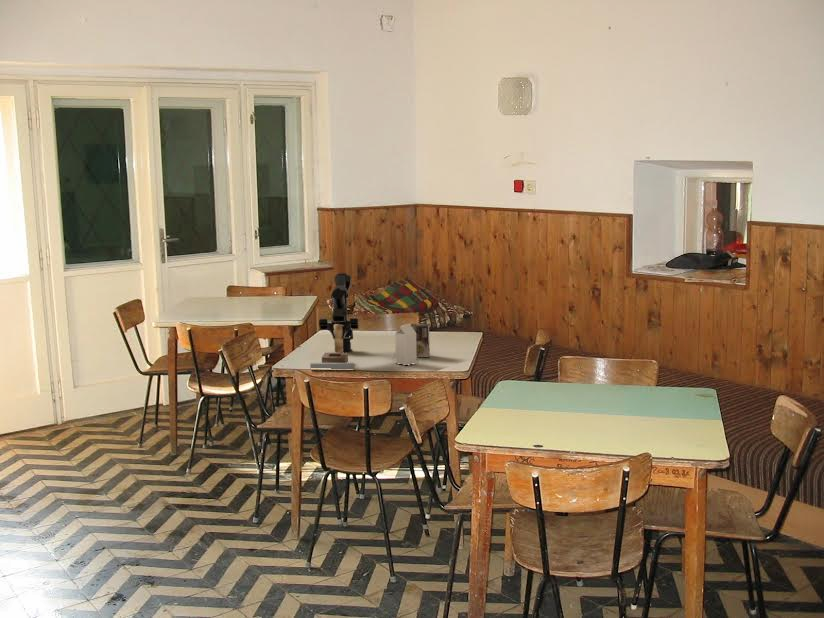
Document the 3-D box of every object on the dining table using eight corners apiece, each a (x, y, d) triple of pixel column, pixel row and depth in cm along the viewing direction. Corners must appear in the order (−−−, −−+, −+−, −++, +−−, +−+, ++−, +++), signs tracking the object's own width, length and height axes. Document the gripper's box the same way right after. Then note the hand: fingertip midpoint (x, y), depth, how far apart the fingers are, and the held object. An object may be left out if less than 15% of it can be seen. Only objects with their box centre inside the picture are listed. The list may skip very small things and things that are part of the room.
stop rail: (311, 370, 447) (311, 362, 446) (353, 370, 446) (353, 362, 445) (310, 371, 445) (310, 363, 444) (353, 371, 444) (353, 363, 443)
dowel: (333, 351, 455) (332, 324, 452) (341, 350, 456) (340, 323, 454) (336, 352, 451) (335, 325, 449) (344, 351, 453) (343, 325, 450)
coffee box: (430, 355, 474) (429, 323, 471) (428, 358, 467) (428, 325, 464) (411, 355, 475) (411, 323, 472) (410, 358, 468) (409, 325, 465)
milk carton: (416, 363, 456) (416, 324, 453) (406, 366, 451) (405, 326, 448) (405, 361, 461) (405, 322, 458) (395, 364, 456) (394, 325, 453)
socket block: (325, 362, 461) (325, 352, 460) (348, 362, 460) (347, 352, 459) (321, 368, 450) (321, 357, 449) (345, 368, 449) (344, 357, 448)
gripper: (318, 302, 453) (317, 329, 445) (357, 301, 453) (357, 328, 445) (320, 315, 463) (319, 342, 454) (359, 314, 463) (358, 341, 454)
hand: (338, 338), depth 451 cm, fingers closed on dowel, 4 cm apart
